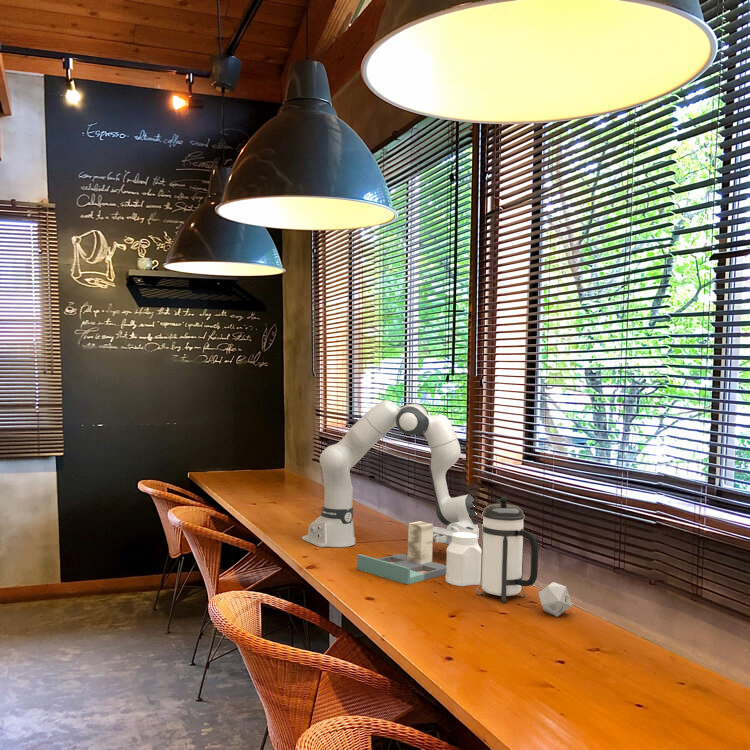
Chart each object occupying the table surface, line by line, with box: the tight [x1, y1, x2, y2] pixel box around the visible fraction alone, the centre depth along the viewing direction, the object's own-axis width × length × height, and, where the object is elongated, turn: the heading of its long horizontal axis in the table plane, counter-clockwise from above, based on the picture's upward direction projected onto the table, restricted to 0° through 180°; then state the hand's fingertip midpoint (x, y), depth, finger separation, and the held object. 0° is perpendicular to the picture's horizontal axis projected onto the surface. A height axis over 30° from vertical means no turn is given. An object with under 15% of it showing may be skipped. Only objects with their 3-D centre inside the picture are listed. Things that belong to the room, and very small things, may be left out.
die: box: [538, 581, 573, 618], centre depth 197 cm, size 8×9×10 cm
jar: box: [445, 532, 482, 587], centre depth 226 cm, size 12×10×15 cm
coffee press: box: [475, 496, 539, 604], centre depth 211 cm, size 17×16×30 cm
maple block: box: [407, 520, 434, 564], centre depth 242 cm, size 6×6×13 cm
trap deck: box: [356, 553, 446, 586], centre depth 236 cm, size 23×22×5 cm
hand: (433, 539), depth 247 cm, fingers closed
